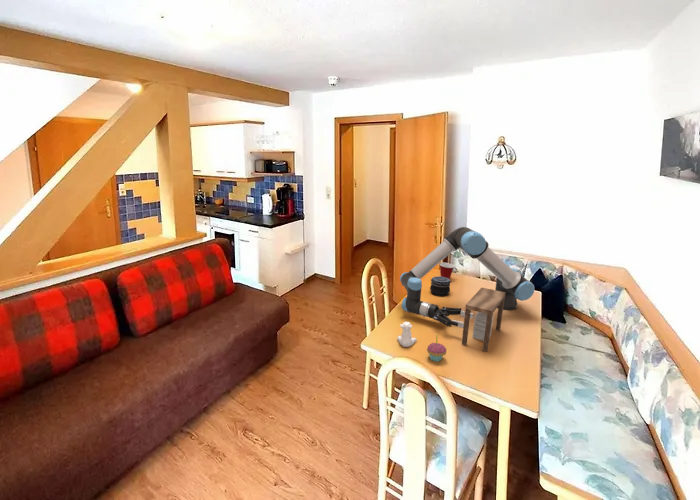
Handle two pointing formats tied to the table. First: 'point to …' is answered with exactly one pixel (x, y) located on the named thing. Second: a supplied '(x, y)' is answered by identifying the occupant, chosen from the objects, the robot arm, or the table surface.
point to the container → (440, 286)
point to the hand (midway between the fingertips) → (469, 320)
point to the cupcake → (436, 351)
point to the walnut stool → (486, 304)
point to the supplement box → (480, 326)
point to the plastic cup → (446, 269)
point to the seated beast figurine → (406, 335)
